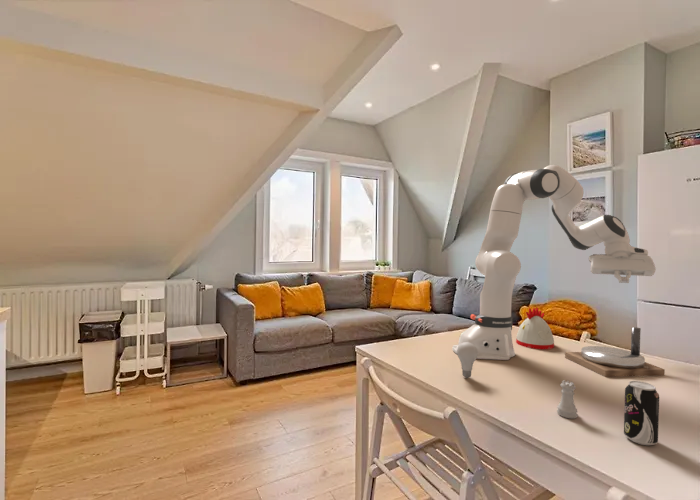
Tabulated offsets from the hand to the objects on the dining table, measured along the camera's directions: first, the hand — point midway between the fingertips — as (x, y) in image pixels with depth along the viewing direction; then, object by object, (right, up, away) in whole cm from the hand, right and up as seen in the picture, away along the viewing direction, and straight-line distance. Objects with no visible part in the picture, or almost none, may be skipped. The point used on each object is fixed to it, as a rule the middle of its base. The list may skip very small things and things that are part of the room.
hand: (624, 281), depth 139 cm
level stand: (-14, -28, -13) cm, 33 cm away
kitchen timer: (-27, -27, +13) cm, 40 cm away
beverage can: (-41, -29, -60) cm, 78 cm away
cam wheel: (-14, -25, -13) cm, 32 cm away
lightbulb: (-67, -28, -25) cm, 77 cm away
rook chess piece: (-50, -28, -49) cm, 76 cm away
